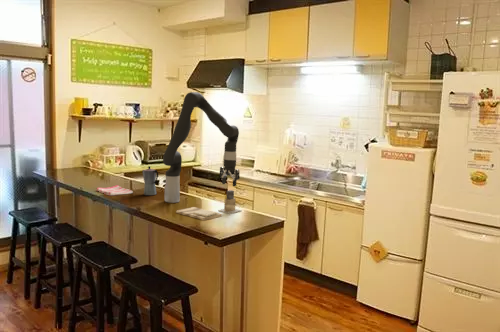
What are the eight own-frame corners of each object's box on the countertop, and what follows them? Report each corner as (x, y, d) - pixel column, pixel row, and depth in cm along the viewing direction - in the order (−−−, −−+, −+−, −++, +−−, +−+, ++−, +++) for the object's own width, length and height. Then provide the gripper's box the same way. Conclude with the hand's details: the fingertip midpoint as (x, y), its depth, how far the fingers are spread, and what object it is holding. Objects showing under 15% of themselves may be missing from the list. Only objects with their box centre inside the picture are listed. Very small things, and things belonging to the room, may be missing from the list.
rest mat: (218, 211, 255) (218, 210, 255) (229, 208, 263) (229, 207, 263) (230, 214, 249) (230, 213, 249) (241, 211, 256) (241, 210, 256)
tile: (206, 215, 235) (206, 216, 235) (217, 212, 242) (217, 213, 242) (193, 212, 242) (193, 213, 242) (204, 209, 249) (204, 211, 249)
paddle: (224, 210, 254) (224, 191, 252) (232, 208, 259) (232, 189, 257) (227, 211, 252) (227, 191, 250) (235, 209, 257) (235, 190, 256)
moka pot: (147, 192, 304) (147, 164, 302) (163, 194, 297) (163, 166, 294) (137, 194, 296) (137, 166, 294) (154, 197, 288) (154, 168, 286)
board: (175, 212, 248) (175, 210, 248) (193, 208, 259) (193, 206, 259) (204, 220, 233) (204, 218, 233) (221, 216, 244) (221, 213, 243)
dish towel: (117, 189, 315) (117, 184, 315) (133, 194, 299) (133, 189, 298) (95, 191, 303) (95, 186, 303) (110, 197, 287) (110, 192, 286)
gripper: (217, 157, 254) (216, 184, 257) (234, 160, 245) (233, 187, 248) (225, 157, 260) (224, 182, 262) (243, 159, 251) (241, 186, 254)
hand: (228, 185), depth 255 cm, fingers open, 8 cm apart
